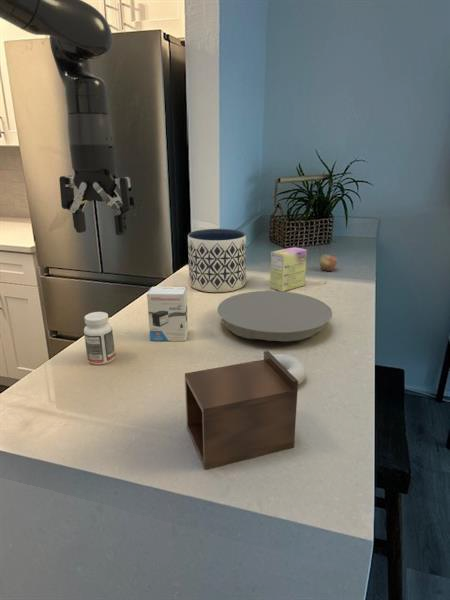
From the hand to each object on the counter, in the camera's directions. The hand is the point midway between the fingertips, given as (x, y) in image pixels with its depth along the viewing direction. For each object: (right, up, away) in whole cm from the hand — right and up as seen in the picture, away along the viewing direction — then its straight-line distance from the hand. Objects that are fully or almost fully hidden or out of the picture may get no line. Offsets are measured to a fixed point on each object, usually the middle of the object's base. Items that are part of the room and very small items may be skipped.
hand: (100, 233), depth 82 cm
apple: (+60, -2, +73) cm, 94 cm away
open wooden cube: (+26, -34, -15) cm, 45 cm away
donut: (+34, -28, +2) cm, 44 cm away
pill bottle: (-3, -25, +10) cm, 27 cm away
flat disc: (+36, -19, +26) cm, 48 cm away
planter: (+21, -8, +58) cm, 62 cm away
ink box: (+10, -22, +20) cm, 31 cm away
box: (+43, -9, +55) cm, 71 cm away
